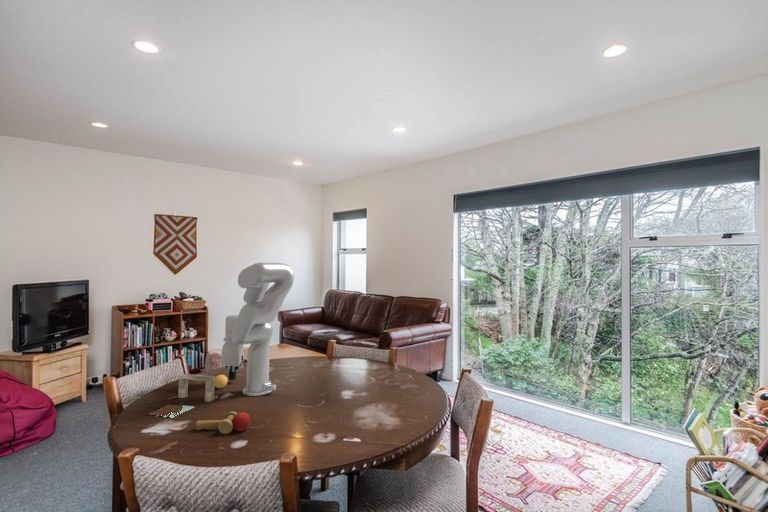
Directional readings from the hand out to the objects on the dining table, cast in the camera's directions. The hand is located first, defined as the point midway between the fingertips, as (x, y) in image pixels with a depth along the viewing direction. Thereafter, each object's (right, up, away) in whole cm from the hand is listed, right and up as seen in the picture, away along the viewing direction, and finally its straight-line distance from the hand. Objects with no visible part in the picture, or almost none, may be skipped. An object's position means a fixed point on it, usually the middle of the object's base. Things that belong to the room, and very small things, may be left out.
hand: (232, 379), depth 188 cm
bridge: (-6, -1, -24) cm, 25 cm away
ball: (-2, +2, -9) cm, 9 cm away
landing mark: (-9, 0, -38) cm, 39 cm away
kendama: (+18, 0, -55) cm, 57 cm away
